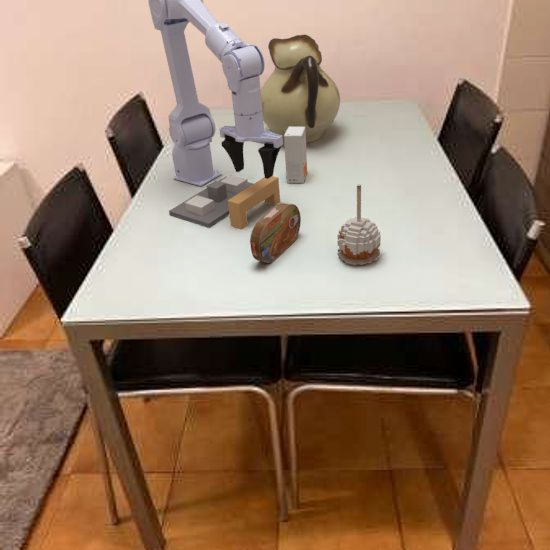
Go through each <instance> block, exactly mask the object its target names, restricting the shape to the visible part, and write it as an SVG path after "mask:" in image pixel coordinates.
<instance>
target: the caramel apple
mask: <svg viewBox="0 0 550 550" xmlns="http://www.w3.org/2000/svg"><path fill="white" fill-rule="evenodd" d="M336 237H337V246H338V249H337V256H338V257H339V259H340V260H341V261H344V263H345V264H349V265H353V266H356V265H360V266H363V265H364V264H365V265H367V264H371V263H372V262H373V261H374V262H376V261H377V259H379V257H380V256H381V252H380V248H379V247H380V246H381V240H382V239H381V231H379V229H378V225H377V223H376V222H373V221H371V219H370V218H366V217H362V184H357V185H356V216H355V217H354V218H353V217H351V218H349V219H348V220H347V221H346V222H344V223H343V224H342V225H341V227H340V229H339V230H338V233H337V236H336Z"/></svg>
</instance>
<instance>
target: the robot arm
mask: <svg viewBox="0 0 550 550" xmlns="http://www.w3.org/2000/svg"><path fill="white" fill-rule="evenodd" d="M148 7H149V11H150V14H151V20H152V23H153V27H154V29H155V30H156V31H160V34H161V35H160V36H161V38H162V43H163V47H164V48H163V49H164V52H165V53H164V54H165V55H166V56H165V57H166V62H167V66H168V71H169V75H170V79H171V83H172V88H173V93H174V97H175V101H176V104H175V107H174V108H173V110H172V111H170V113H169V114H168V115H167V116H168V124H169V128H168V130H169V136H170V138H171V141H172V143H173V147H172V152H171V156H172V161H173V169H174V172H175V175H174V176H173V179H174V180H177V181H181V182H183V183H184V182H185V183H188V184H192V185H195V186H198V187H202V186H205V185H206V184H207V183H209V182H211V181H213V180H215V179H216V178H218V177H219V176H221V175H223V174H222V172H221V171H217V170H214V164H213V157H212V156H213V155H212V150H211V143H212V142H213V137H214V136H215V134H216V124H215V120H214V118H213V117H212V114H211V110H210V108H209V107H208V106H207V105H206V104H203V103H202V102H199V98H198V93H197V88H196V84H195V78H194V74H193V69H192V65H191V59H190V54H189V50H188V49H189V48H188V45H187V39H186V36H185V35H186V33H185V30H186V28H187V26H188V24H189V23H191V25H192V26H194V28H196V29H197V30H198V31H199V32H200V33H202V34H203V35H204V42H205V45H206V47H207V48H208V50H210V51H211V52H212V54H213V55H214V56H215V58H217V59H218V61H220V63H221V67H222V70H223V72H222V73H223V74H224V76H225V78H226V81H227V87H228V90H229V91H230V92H231V100H232V108H233V118H234V125H223V126H222V127H220V128H219V136H220V138H222V139H223V138H224V140H223V141H221V143H220V144H221V147H222V148H223V149H224V150H225V152H226V154H227V155H228V158H229V159H230V161H231V162H232V164H233V168H234V169H235V170H234V171H235V173H240V172H241V171H243V170H245V159H244V158H245V157H244V143H245V142H251V143H257V144H263V146H261V147H260V148H258V149H257V151H258V153H259V156H260V159H261V162H262V166H263V167H262V169H263V175H264V177H265V178H266V179H269V178H270V177H271V176H274V171H275V165H276V161H277V158H278V155H279V152H280V151H281V150H282V146H283V145H284V142H283V136H282V135H278V134H276V133H275V132H273V131H271V130H268V129H266V128H265V127H264V126H265V125H264V124H265V123H264V121H263V113H262V101H261V81H260V80H261V79H260V76H262V75H263V73H264V71H265V59H264V58H265V57H264V55H263V53H262V52H263V51H262V50H261V49H260V48H259V46H258V45H257V44H254V43H253V44H250V43H249V42H246V43H245V42H244V41H243V40H242V39H241V37H239V36H238V34H237V33H236V32H234V30H233V29H232V28H231V27H230V26H229V25H228V24H227V23H226V22H218V21H217V19H216V18H215V16H213V14H212V13H211V12H210V11H209V9H208V8H207V6H206V5H205V4H204V0H148Z"/></svg>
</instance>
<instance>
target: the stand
mask: <svg viewBox="0 0 550 550" xmlns="http://www.w3.org/2000/svg"><path fill="white" fill-rule="evenodd" d="M254 183H255V182H254ZM254 183H252V182H249V181H248V179H247V178H244V177H241V176H237V175H234V174H233V175H232V174H230V175H227V176H225V177H223V178H221V179H219V180H214V181H212V182H211V183H209V184H207V185H206V188H204V189H203V190H201V191H200V192H198V193H195V194H194V195H193V196H191V197H190V198H188V199H185V201H182V202H181V203H179V204H178V205H176V206H174V207H173V208H171V209H170V210H169V211H168V212H169V214H168V215H169V216H172V217H176V218H179V219H180V220H184V221H188V222H191V223H194V224H197V225H199V226H202V227H203V226H204V227H206V228H211V227H213V226H214V225H216V224H217V223H220V221H223V219H225V218H226V217H228V216H230V215H229V207H228V200H229V199H231V198H233V197H234V196H236V195H237V194H239V193H240V192H242V191H243V190H245V189H246V188H248V187H250V186H251V185H253V184H254Z"/></svg>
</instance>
